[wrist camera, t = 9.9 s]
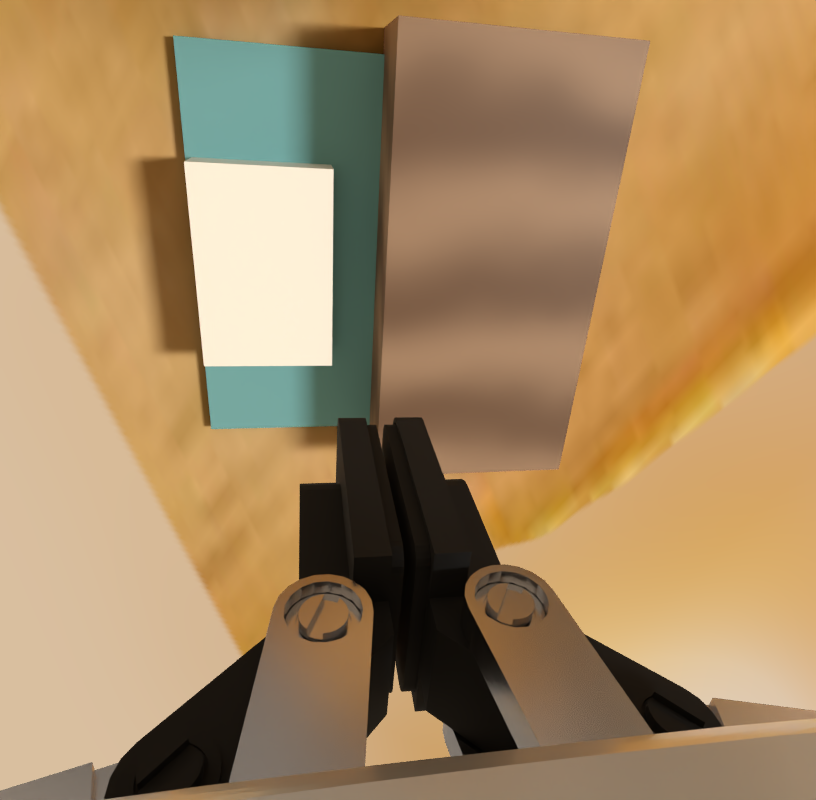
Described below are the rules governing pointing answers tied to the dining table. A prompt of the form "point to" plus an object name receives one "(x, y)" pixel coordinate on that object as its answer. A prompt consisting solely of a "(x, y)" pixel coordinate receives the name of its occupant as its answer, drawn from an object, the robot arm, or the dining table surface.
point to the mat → (352, 203)
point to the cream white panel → (262, 260)
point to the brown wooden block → (493, 230)
